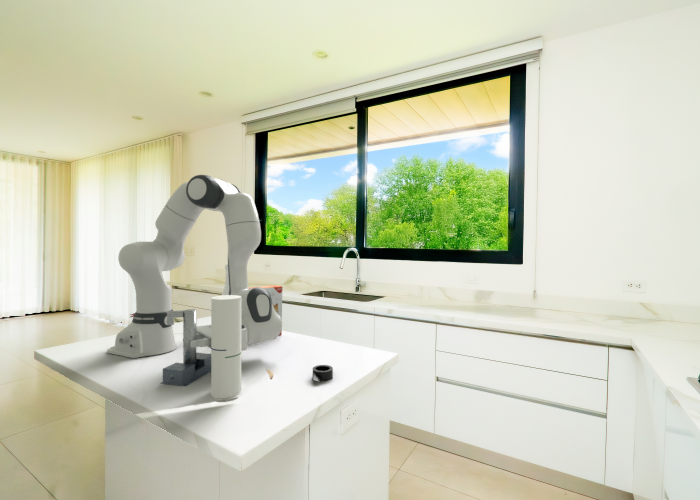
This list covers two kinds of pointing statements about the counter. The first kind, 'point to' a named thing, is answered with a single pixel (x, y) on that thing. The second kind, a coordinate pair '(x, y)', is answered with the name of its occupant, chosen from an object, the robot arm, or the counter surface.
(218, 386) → the cylindrical container
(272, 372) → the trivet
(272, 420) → the counter surface
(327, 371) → the black round winged cup
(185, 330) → the brushed metal post
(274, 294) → the cracker box
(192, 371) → the vise
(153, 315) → the robot arm
